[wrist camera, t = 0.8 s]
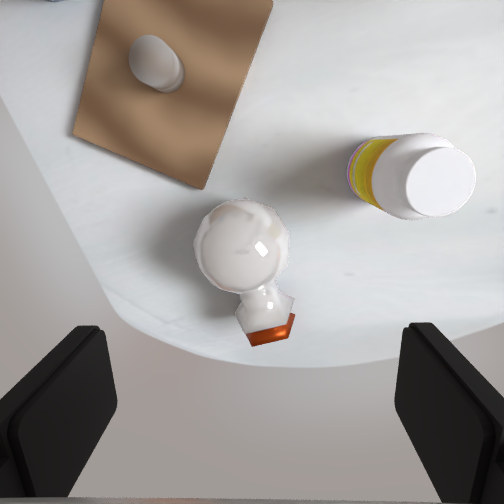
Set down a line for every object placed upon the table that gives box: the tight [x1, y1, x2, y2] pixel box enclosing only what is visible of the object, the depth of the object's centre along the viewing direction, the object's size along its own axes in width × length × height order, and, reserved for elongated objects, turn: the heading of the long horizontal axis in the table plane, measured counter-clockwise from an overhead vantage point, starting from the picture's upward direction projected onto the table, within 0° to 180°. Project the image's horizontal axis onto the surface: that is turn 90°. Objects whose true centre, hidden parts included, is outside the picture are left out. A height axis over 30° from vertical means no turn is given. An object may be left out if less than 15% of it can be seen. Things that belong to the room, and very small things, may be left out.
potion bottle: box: [193, 198, 295, 347], centre depth 34 cm, size 9×10×15 cm
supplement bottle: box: [347, 133, 476, 220], centre depth 28 cm, size 7×7×13 cm
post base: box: [72, 0, 273, 190], centre depth 30 cm, size 18×14×6 cm
